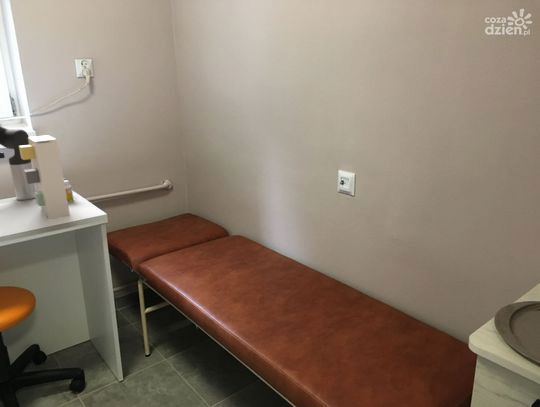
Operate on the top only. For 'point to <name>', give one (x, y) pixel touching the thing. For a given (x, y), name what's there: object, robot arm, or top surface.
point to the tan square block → (27, 152)
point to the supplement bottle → (68, 191)
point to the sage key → (39, 198)
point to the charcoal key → (32, 176)
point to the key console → (50, 176)
